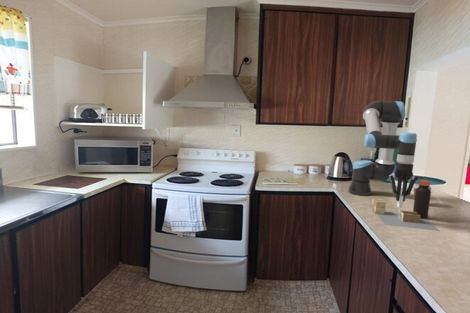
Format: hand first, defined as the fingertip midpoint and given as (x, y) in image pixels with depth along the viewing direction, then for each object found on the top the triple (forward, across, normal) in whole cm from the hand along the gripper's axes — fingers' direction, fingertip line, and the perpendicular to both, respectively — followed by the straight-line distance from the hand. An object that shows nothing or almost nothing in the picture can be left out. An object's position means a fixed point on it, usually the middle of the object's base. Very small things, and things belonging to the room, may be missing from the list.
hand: (399, 207), depth 144 cm
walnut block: (+5, +1, 0) cm, 5 cm away
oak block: (+7, -8, +8) cm, 13 cm away
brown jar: (+7, +23, +36) cm, 43 cm away
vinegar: (+7, +13, +8) cm, 17 cm away
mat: (+7, +3, 0) cm, 8 cm away
